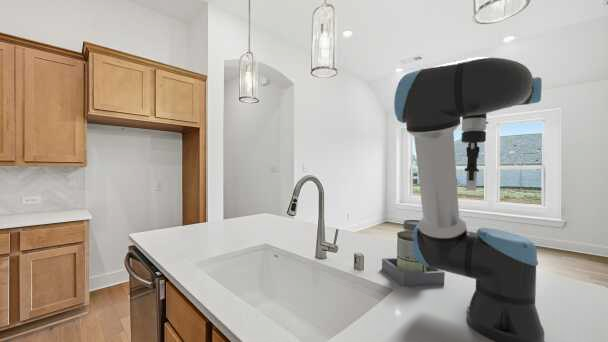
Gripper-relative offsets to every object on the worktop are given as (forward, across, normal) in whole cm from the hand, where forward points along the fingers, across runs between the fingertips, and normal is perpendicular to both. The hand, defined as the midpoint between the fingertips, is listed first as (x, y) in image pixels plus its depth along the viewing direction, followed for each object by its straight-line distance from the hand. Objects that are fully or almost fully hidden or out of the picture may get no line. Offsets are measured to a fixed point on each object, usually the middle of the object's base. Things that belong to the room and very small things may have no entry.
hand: (471, 189), depth 98 cm
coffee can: (+31, -14, +17) cm, 38 cm away
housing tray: (+32, -14, +17) cm, 39 cm away
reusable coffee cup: (+32, +11, +20) cm, 39 cm away
